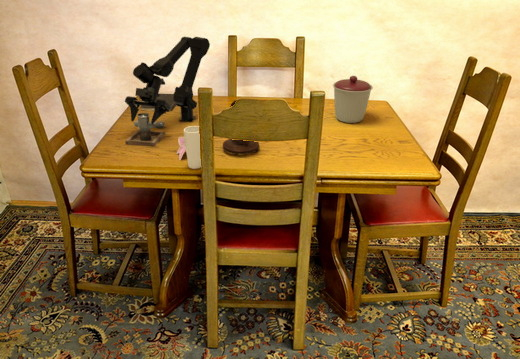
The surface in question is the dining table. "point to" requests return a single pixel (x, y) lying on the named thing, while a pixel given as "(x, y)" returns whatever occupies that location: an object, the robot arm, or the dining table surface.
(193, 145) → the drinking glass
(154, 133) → the taupe tray
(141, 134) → the polished metal cylinder
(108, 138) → the dining table surface
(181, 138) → the lily
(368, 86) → the canister
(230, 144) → the dark round disc base
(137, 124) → the grey ratchet handle
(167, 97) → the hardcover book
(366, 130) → the dining table surface
